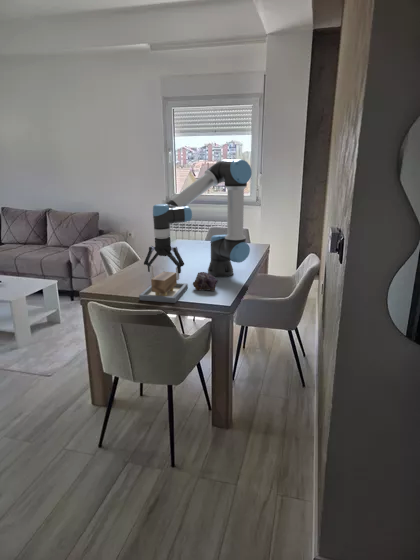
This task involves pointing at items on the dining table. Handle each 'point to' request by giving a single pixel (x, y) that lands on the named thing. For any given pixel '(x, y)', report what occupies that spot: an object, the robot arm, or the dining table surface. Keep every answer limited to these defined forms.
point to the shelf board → (163, 282)
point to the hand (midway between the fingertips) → (164, 278)
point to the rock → (205, 282)
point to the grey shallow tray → (164, 294)
